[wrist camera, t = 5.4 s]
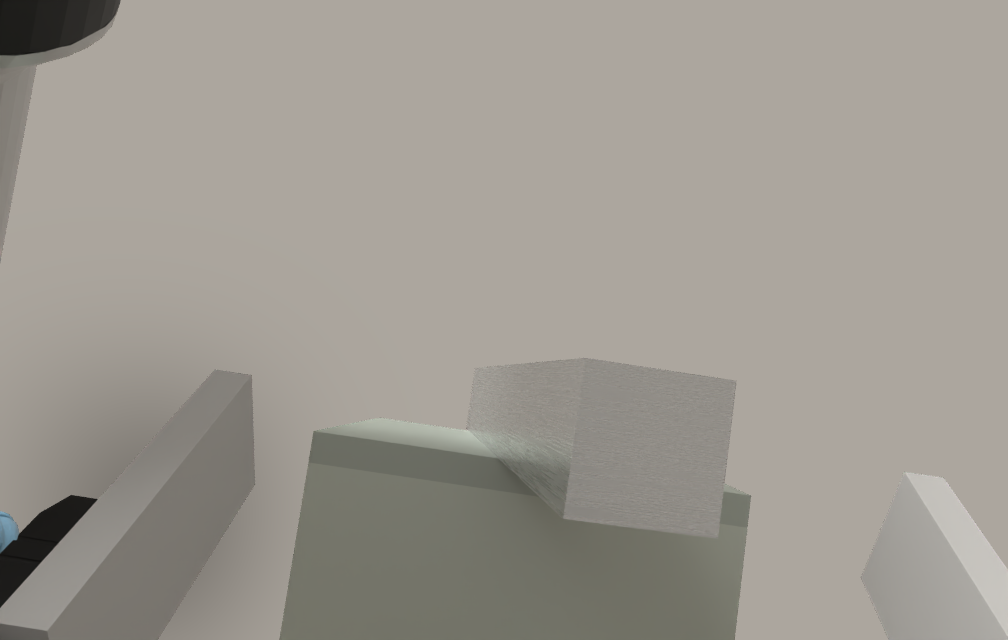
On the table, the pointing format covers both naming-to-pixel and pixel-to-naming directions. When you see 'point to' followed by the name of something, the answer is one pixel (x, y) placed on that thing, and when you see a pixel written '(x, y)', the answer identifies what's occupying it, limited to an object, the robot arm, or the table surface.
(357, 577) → the pedestal
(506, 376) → the rail bar
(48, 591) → the robot arm
